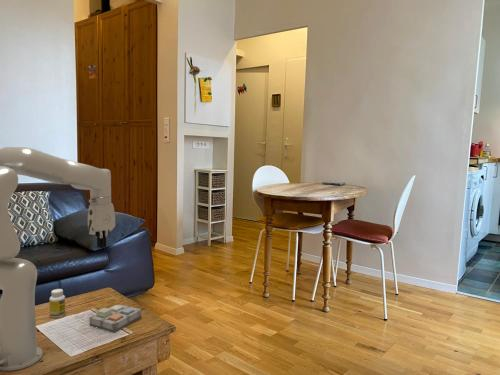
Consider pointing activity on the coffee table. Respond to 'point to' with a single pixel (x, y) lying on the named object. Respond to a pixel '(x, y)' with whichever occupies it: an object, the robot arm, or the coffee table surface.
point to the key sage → (103, 312)
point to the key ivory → (116, 308)
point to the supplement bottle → (57, 303)
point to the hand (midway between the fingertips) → (101, 247)
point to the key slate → (127, 311)
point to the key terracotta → (115, 317)
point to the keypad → (112, 325)
